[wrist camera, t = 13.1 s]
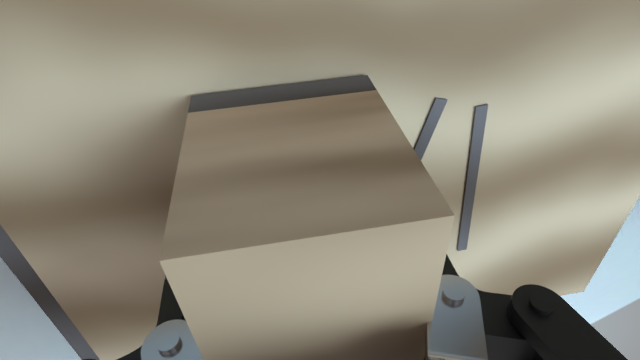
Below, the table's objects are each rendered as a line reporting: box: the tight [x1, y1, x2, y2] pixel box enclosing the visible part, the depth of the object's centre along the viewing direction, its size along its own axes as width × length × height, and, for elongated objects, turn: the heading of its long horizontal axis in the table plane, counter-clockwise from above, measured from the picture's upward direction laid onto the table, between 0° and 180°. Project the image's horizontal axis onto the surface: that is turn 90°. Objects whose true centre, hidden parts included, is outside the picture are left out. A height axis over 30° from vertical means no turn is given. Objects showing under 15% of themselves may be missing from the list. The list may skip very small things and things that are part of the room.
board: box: [0, 0, 640, 360], centre depth 15 cm, size 22×28×2 cm
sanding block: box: [159, 75, 455, 360], centre depth 12 cm, size 9×5×6 cm, turn 3°
